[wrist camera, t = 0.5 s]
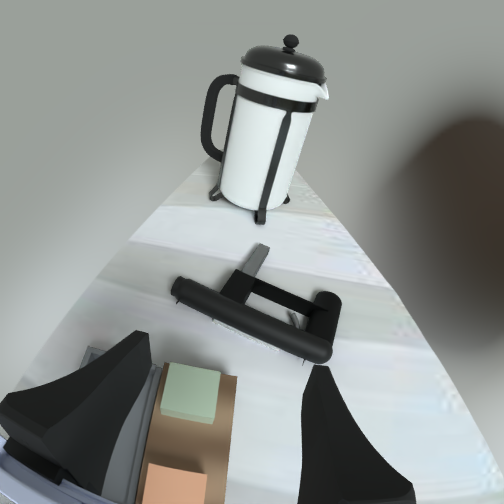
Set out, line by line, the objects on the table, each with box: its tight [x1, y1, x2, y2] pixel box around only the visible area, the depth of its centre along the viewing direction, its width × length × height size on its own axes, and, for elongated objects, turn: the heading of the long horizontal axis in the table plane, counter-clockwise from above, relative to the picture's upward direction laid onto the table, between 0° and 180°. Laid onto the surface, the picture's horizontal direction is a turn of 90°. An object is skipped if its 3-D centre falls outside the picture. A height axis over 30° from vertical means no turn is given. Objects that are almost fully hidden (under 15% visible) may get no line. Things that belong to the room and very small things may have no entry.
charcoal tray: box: [79, 346, 162, 504], centre depth 22 cm, size 16×8×2 cm, turn 176°
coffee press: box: [201, 35, 329, 225], centre depth 46 cm, size 17×16×30 cm
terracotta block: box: [142, 463, 207, 504], centre depth 17 cm, size 4×4×2 cm
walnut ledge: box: [135, 363, 237, 504], centre depth 23 cm, size 16×7×3 cm, turn 176°
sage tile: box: [160, 362, 221, 424], centre depth 25 cm, size 4×4×2 cm
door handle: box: [171, 243, 342, 366], centre depth 39 cm, size 3×20×16 cm
